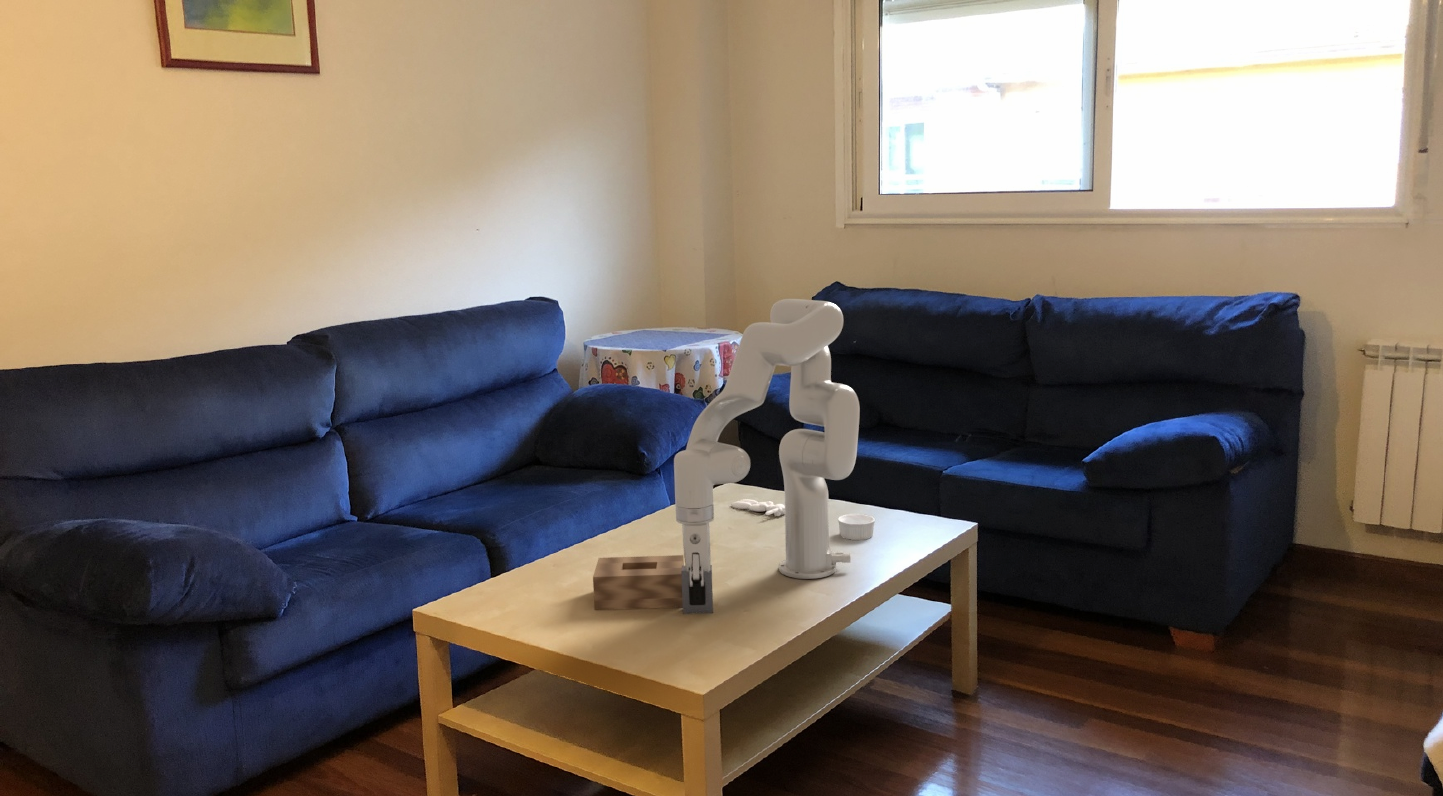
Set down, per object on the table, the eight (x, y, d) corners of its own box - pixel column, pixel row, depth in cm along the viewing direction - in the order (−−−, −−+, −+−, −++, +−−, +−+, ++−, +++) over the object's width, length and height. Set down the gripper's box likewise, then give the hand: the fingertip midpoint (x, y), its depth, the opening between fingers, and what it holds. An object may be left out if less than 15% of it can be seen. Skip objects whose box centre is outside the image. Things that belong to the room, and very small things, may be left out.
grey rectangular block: (712, 607, 222) (711, 564, 221) (713, 612, 219) (711, 569, 218) (683, 608, 222) (681, 565, 221) (682, 613, 219) (681, 570, 218)
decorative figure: (719, 504, 291) (769, 508, 279) (749, 494, 300) (799, 498, 287) (720, 517, 292) (771, 522, 279) (751, 507, 300) (801, 511, 288)
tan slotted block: (684, 586, 235) (683, 555, 233) (683, 607, 223) (682, 574, 221) (600, 589, 234) (598, 557, 233) (594, 609, 223) (592, 577, 221)
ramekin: (839, 529, 271) (839, 512, 271) (876, 531, 270) (876, 514, 269) (836, 540, 263) (836, 523, 262) (873, 542, 261) (873, 524, 260)
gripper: (713, 524, 209) (716, 615, 212) (713, 500, 225) (716, 585, 229) (674, 525, 209) (677, 616, 212) (676, 501, 225) (680, 586, 229)
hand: (697, 599), depth 220 cm, fingers open, 3 cm apart
